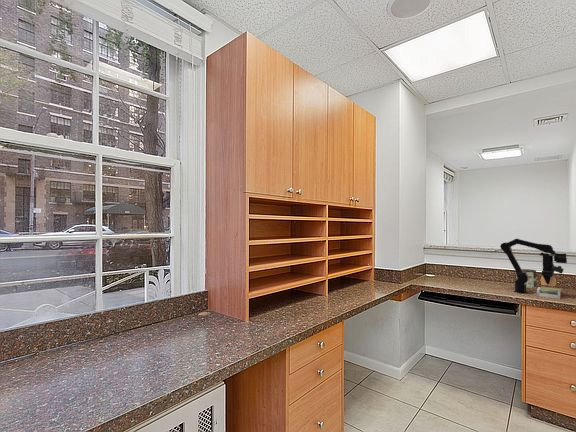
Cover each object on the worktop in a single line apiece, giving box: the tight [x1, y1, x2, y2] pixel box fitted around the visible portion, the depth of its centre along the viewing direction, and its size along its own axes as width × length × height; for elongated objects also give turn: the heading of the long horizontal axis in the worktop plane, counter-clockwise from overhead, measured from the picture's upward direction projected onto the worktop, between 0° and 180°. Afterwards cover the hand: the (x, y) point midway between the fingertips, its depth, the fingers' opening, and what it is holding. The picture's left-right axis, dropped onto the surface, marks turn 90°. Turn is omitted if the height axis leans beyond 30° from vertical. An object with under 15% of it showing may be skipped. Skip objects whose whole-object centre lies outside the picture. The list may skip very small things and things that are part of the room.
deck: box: [536, 286, 562, 300], centre depth 226 cm, size 28×12×4 cm, turn 137°
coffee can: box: [521, 268, 538, 289], centre depth 253 cm, size 10×10×14 cm
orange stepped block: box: [540, 275, 557, 287], centre depth 220 cm, size 6×8×6 cm
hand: (548, 283), depth 221 cm, fingers closed on orange stepped block, 6 cm apart
